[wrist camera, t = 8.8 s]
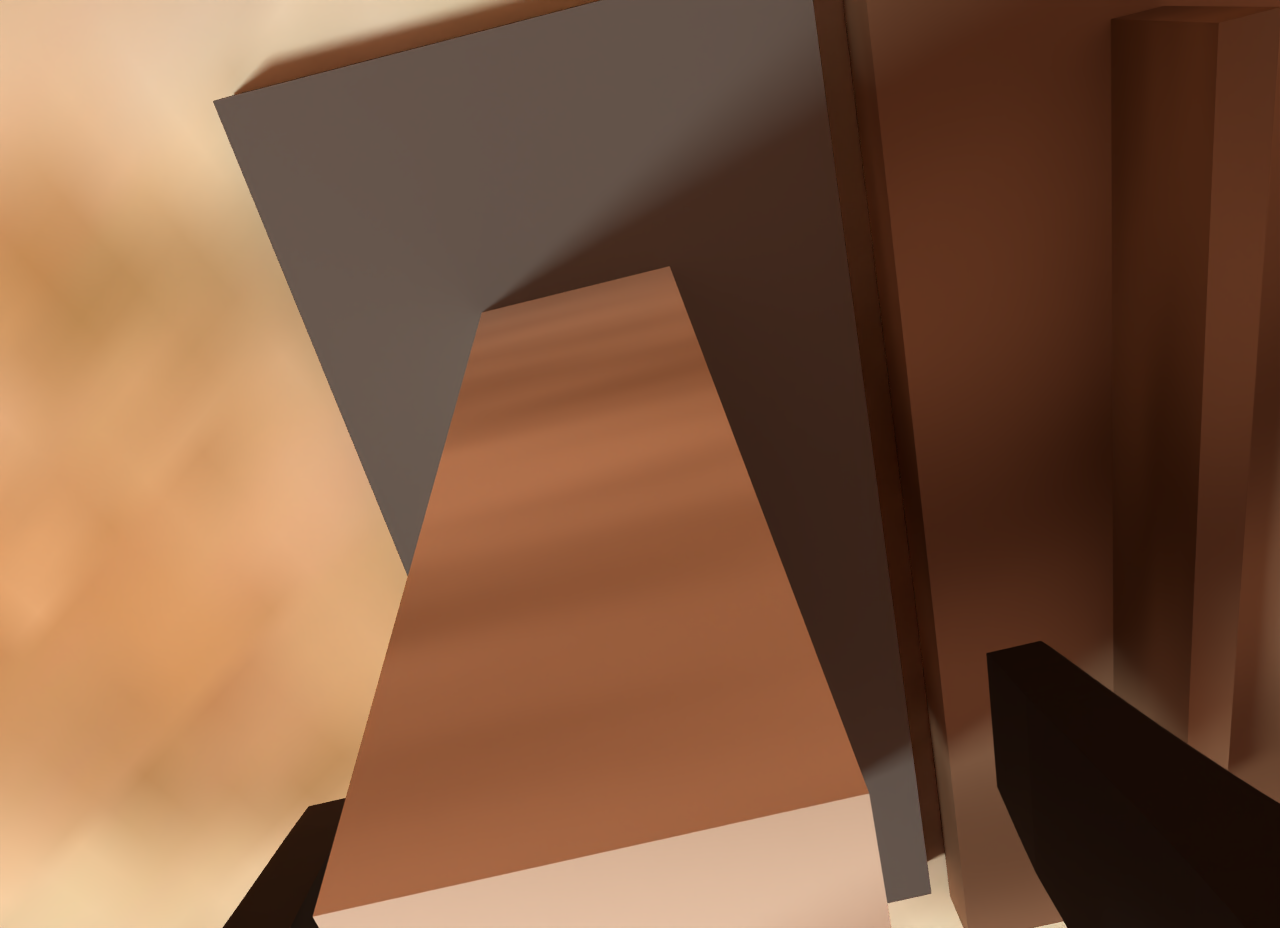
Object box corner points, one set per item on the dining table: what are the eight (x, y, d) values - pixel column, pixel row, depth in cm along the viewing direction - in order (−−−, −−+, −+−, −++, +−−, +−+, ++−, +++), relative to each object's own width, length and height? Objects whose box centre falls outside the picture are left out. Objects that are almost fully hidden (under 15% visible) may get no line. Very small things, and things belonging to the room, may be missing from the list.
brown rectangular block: (790, 813, 17) (999, 1585, 8) (651, 844, 17) (728, 1635, 9) (669, 266, 12) (870, 794, 4) (481, 312, 12) (313, 917, 4)
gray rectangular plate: (920, 867, 18) (931, 893, 18) (570, 943, 19) (570, 972, 18) (794, -50, 11) (805, -53, 11) (229, 96, 11) (212, 101, 11)
